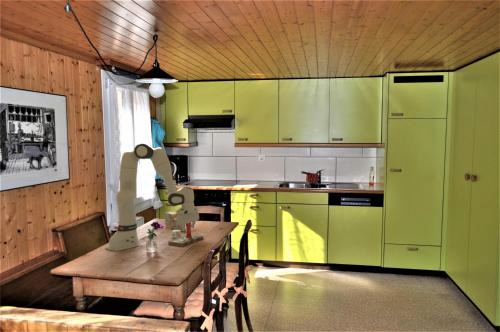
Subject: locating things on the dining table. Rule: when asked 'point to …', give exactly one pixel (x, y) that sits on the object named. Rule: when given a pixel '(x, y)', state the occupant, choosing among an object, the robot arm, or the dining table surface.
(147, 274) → the dining table surface
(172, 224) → the stack of blocks
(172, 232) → the die
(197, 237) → the board
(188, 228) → the pawn
